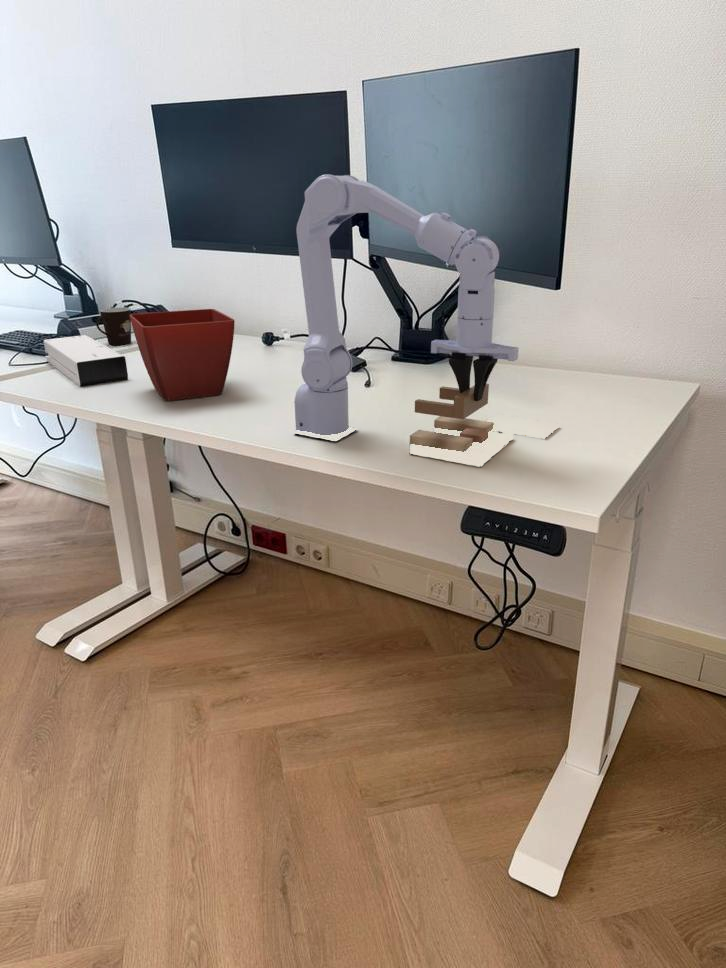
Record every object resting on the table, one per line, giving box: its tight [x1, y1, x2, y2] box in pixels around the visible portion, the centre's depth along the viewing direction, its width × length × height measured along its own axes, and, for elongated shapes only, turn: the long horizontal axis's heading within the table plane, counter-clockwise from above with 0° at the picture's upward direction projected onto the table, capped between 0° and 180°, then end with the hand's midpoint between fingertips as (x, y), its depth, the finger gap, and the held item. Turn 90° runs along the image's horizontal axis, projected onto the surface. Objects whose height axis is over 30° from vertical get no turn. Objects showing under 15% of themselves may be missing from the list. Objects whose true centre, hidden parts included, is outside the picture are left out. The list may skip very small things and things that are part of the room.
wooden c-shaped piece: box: [414, 383, 490, 419], centre depth 121 cm, size 9×11×4 cm
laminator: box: [43, 334, 129, 388], centre depth 179 cm, size 34×12×6 cm, turn 35°
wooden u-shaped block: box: [409, 416, 494, 452], centre depth 123 cm, size 14×16×3 cm
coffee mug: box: [95, 307, 132, 347], centre depth 208 cm, size 12×9×10 cm
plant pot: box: [130, 308, 235, 402], centre depth 156 cm, size 19×19×17 cm
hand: (471, 398), depth 119 cm, fingers closed on wooden c-shaped piece, 2 cm apart
